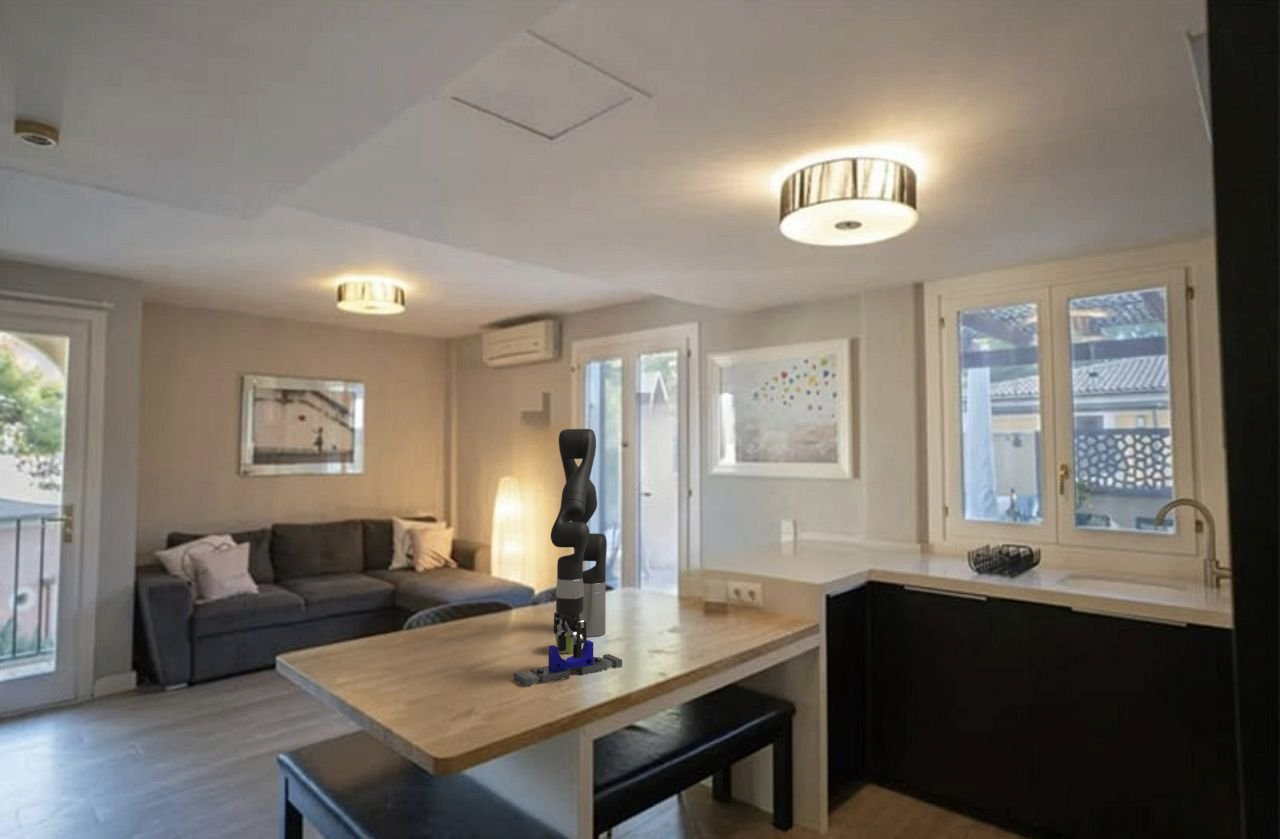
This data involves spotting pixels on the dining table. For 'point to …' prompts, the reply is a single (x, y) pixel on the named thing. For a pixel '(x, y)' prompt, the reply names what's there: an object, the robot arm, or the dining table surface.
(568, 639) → the plant pot
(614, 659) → the grey slotted plastic plates
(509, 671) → the dining table surface
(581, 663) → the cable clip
